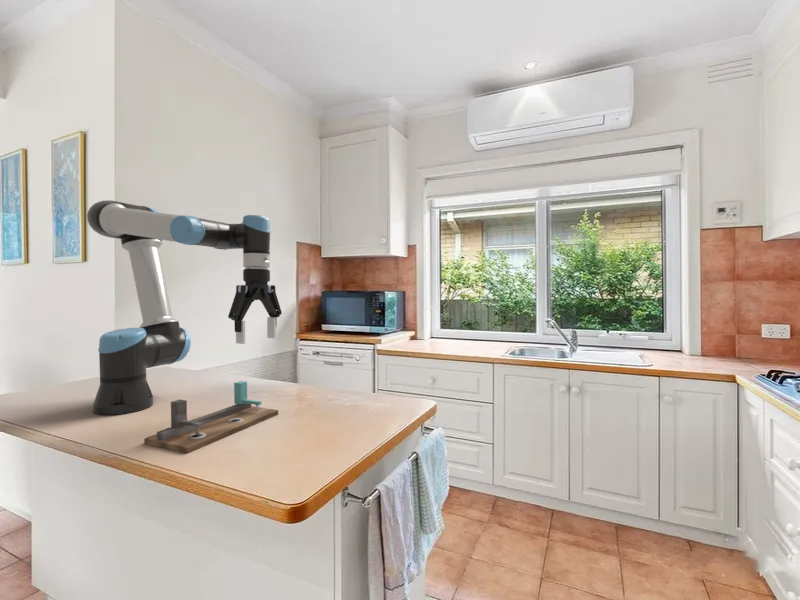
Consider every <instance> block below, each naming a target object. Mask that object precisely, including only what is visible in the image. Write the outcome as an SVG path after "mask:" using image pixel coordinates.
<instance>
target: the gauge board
mask: <svg viewBox="0 0 800 600" xmlns="http://www.w3.org/2000/svg"><path fill="white" fill-rule="evenodd" d="M187 403H188V401H187V399H186V400H184V399H176V400H173V401H170V426H169V427H167V428H164V429H162V430H159V431H156V434H152V435H150V436H147V437H143V438H144V439H143V443H144V444H146V445H151V446H154V447H158V448H159V447H160V448H163V449H167V450H171V451H177V452H181V453H184V454H190V453H192V452H193V451H197V450H199V449H201V448H203V447H205V446H208V445H210V444H212V443H215V442H218V441H220V440H222V439H224V438H226V437H228V436H231V435H234V434H236V433H238V432H240V431H243V430H245V429H248V428H250V427H253V426H255V425H257V424H259V423H261V422H265V421H266V420H269V419H271V418H273V417H275V416H278V415H279V410H278V409H273V408H266V407H260V406H259V411H256V406H255V405H254V406H252V404H248V403H244V404H242V405H239V404H234V405H233V404H232V405H231V406H228V407H225V408H222V409H219V410H216V411H214V412H211V413H208V414H205V415H202V416H198V417H196V418H194V419H190V420H188V410H187V409H188V406H187Z"/></svg>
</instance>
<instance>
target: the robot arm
mask: <svg viewBox="0 0 800 600" xmlns="http://www.w3.org/2000/svg"><path fill="white" fill-rule="evenodd" d="M86 218H87V219H86V220H87V223H88V225H89V226H90V228H91V229H92V230H93V231H94V232H96V234H98V235H101V236H103V237H106V238H111V239H120V243H121V247H122V249H124V250H126V252H128V254H129V255H128V256H129V259H130V264H131V270H132V274H133V279H134V283H135V289H136V295H137V299H138V303H139V308H140V313H141V318H142V323H141V325H140V326H139V327H129V328H120V329H115V330H111V331H108V332H105V333H103V334H102V335H101V336H100V338H99V340H98V341H99V342H98V349H97V350H98V354H99V355H98V357H99V359H98V360H99V361H98V362H99V387H98V390H97V393H96V395H95V398H94V400H93V403H92V411H93V413H94V414H97V415H102V416H103V415H104V416H105V415H106V416H107V415H109V416H110V415H121V414H130V413H134V412H139V411H142V410H145V409H147V408H149V407H152V406H153V405H154V395H153V393H152V390H151V387H150V385H149V383H148V380H147V369H150V368H151V369H152V368H155V367H161V366H165V365H172V364H174V363H177V362H180V361H182V360H184V359H185V358H186V357H187V355H188V353H189V352H190V349H191V344H192V343H191V342H192V341H191V336H190V334H189V331H187V330H186V329H185V328H183V327H180V323H179V320H177V319H176V318H175V317H173V314H172V309H171V304H170V300H169V299H170V298H169V295H168V290H167V289H168V288H167V285H166V284H167V283H166V281H165V279H166V278H165V274H164V269H163V265H162V259H161V256H160V250H159V248H160V247H161V246H162V245H163V241H166V242H167V241H168V242H175V243H179V244H181V245H186V246H187V245H188V246H200V247H210V248H213V249H216V250H224V251H225V250H238V249H242V263H243V264H242V266H243V268H244V269H243V270H242V278H243V279H242V280H243V282H245V284H238V285H237V284H236V286H235V294H234V298H233V301H232V304H231V307H230V310H229V313H228V315H227V318H228V319H230V320H231V321H234V332H235V344H241V345H244V344H246V320H244V318H245V316H246V314H247V312H248V311H249V309H250V307H251V305H252V303H253V302H255V301H260V302H261V304H262V305H263V307H264V309H265V311H266V312H267V314H268V316H269V317H267V318H266V319H267V321H266V322H267V323H266V324H267V327H266V329H267V330H266V333H267V336H266V337H267V339H277V322H278V321H277V318H280V316H281V315H282V309H281V306H280V302H279V299H278V296H277V292H276V285H274V284H273V285H272V284H271V285H270V284H268V283H269V282H270V281H271V271H270V269H268V268H270V263H271V262H270V261H271V260H270V259H271V256H270V254H271V253H270V252H271V250H270V249H271V248H270V246H271V245H270V244H271V241H270V240H271V228H270V226H271V225H270V219H269V217H268V216H264V215H261V214H246V215H244V216H243V218H242V222H241V223H226V222H221V221H217V220H216V221H215V220H209V219H205V218H199V217H196V216H191V215H179V214H172V213H164V212H160V211H158V210H157V209H154V208H151V207H148V206H145V205H144V206H143V205H137V204H132V203H126V202H121V201H115V200H110V199H109V200H100V201H98V202H95V203H94V204H92V205H91V207H90V208H89V209H88V211H87V214H86Z"/></svg>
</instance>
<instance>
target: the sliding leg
mask: <svg viewBox="0 0 800 600" xmlns="http://www.w3.org/2000/svg"><path fill="white" fill-rule="evenodd" d="M233 384H234V385H233V386H234V387H233V388H234V389H233V390H234V391H233V393H234V399H233V401H234V405H236V404H239V405H242V404H244V403H248V404H251V405H254V406H255V407H256V411H259V407H260V406H261V405H262V401H261V400H255V399H249V398H248V381H244V380H239V381H236V382H233Z"/></svg>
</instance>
